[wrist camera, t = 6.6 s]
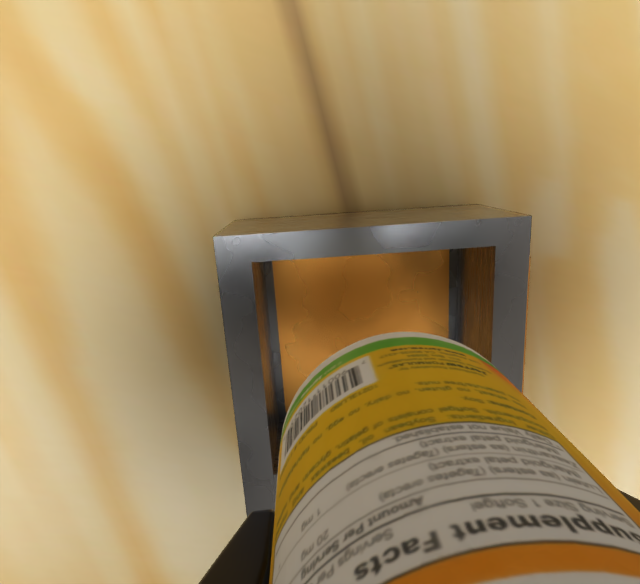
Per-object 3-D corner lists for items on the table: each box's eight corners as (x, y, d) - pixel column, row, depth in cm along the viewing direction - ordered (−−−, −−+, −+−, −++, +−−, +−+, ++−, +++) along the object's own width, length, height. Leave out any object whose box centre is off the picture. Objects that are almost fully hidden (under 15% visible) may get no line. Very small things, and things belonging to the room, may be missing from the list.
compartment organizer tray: (470, 687, 24) (506, 798, 19) (287, 702, 23) (283, 818, 19) (485, 203, 17) (542, 215, 13) (235, 220, 17) (213, 236, 13)
